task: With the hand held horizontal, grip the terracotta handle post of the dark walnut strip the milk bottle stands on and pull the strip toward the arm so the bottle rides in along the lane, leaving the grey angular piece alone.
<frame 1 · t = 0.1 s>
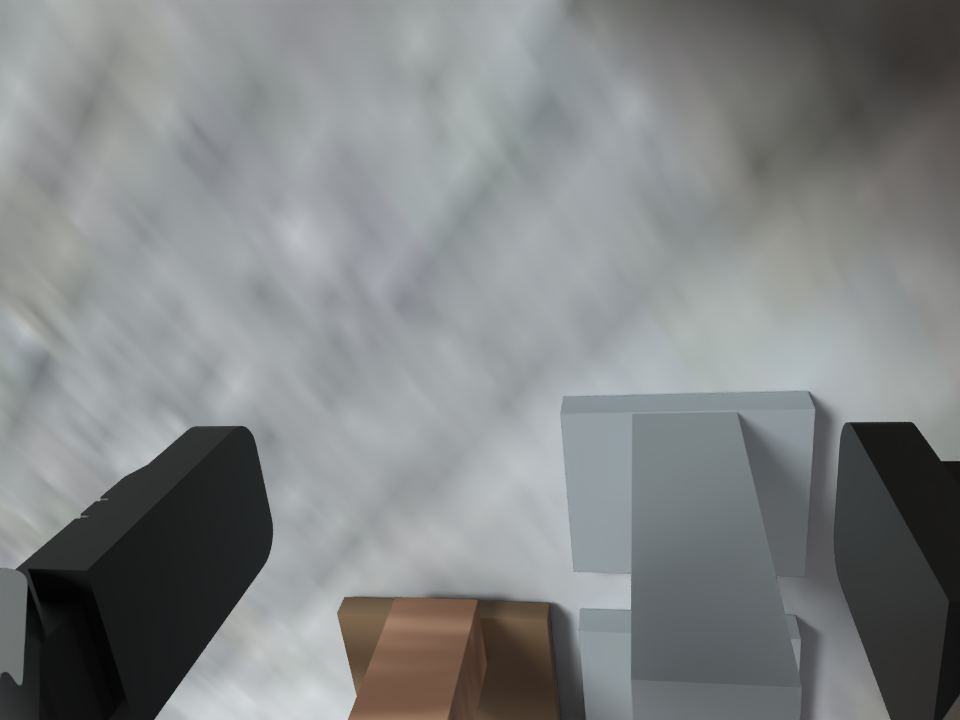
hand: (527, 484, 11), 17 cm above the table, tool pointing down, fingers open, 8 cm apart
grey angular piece: (684, 592, 33), on the table
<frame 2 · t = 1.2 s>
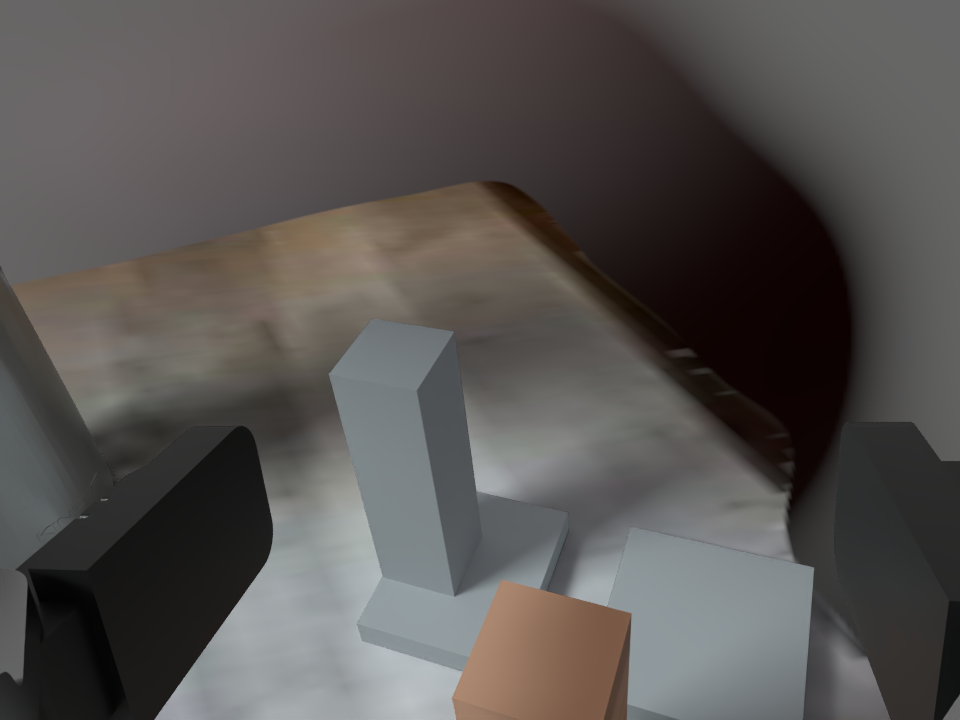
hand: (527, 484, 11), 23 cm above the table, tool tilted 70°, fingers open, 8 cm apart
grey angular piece: (586, 613, 36), on the table
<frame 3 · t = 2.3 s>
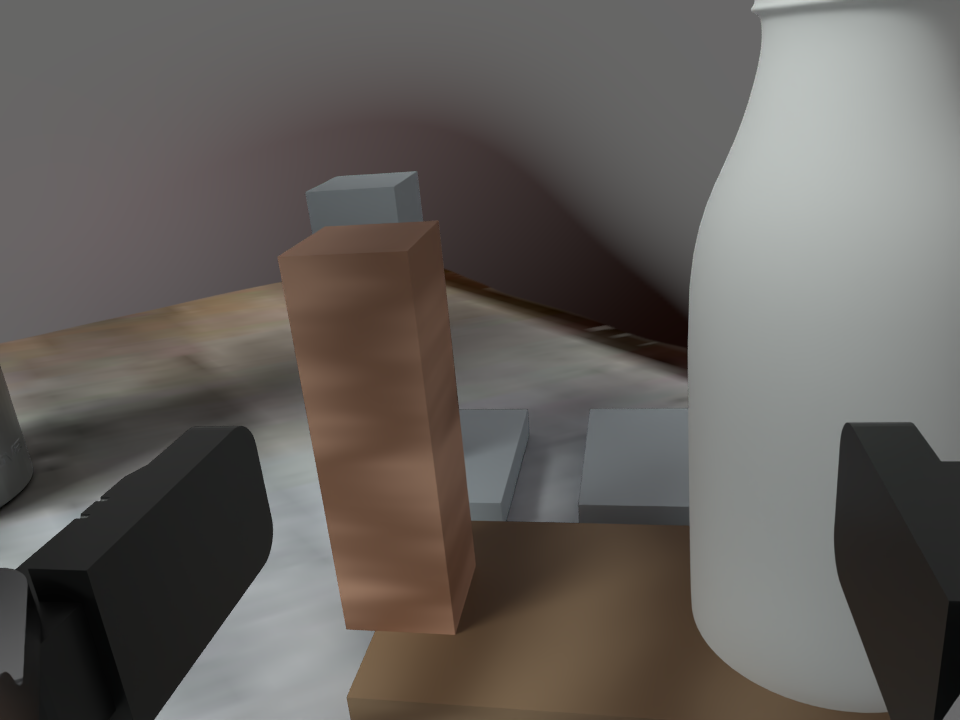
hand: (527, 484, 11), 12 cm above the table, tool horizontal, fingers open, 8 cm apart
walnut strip: (666, 448, 23), point 7 cm above the table, slide at 5.9 cm, touching milk bottle
milk bottle: (822, 646, 25), resting on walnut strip
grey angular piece: (563, 477, 35), on the table
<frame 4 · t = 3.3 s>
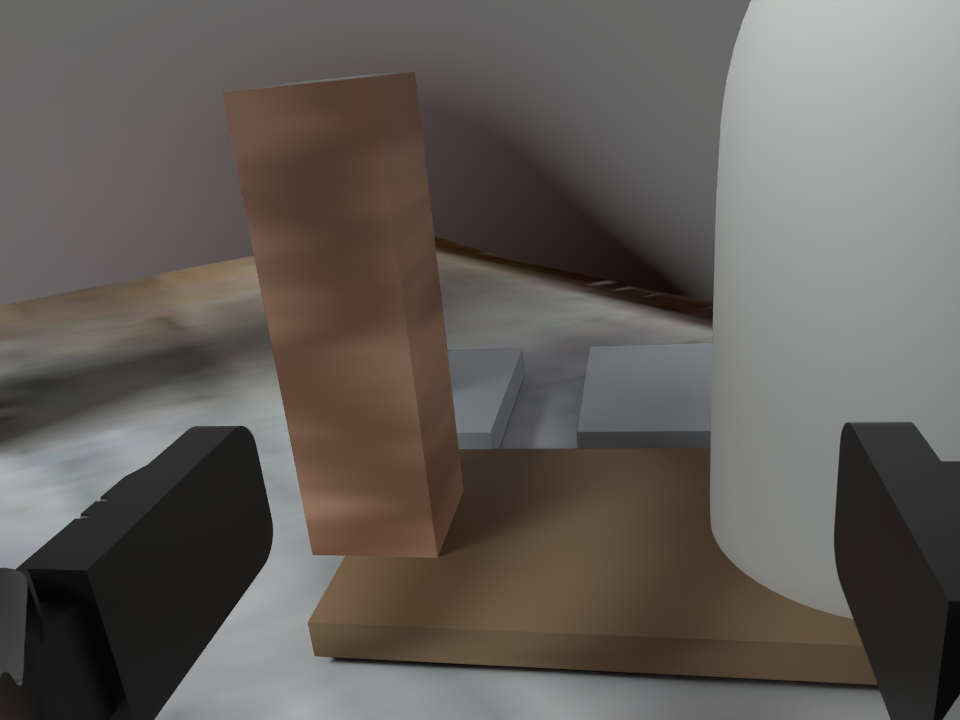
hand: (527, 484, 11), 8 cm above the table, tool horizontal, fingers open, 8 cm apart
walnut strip: (681, 330, 20), point 7 cm above the table, slide at 5.6 cm, touching milk bottle
milk bottle: (862, 568, 21), resting on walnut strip
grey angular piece: (560, 414, 32), on the table
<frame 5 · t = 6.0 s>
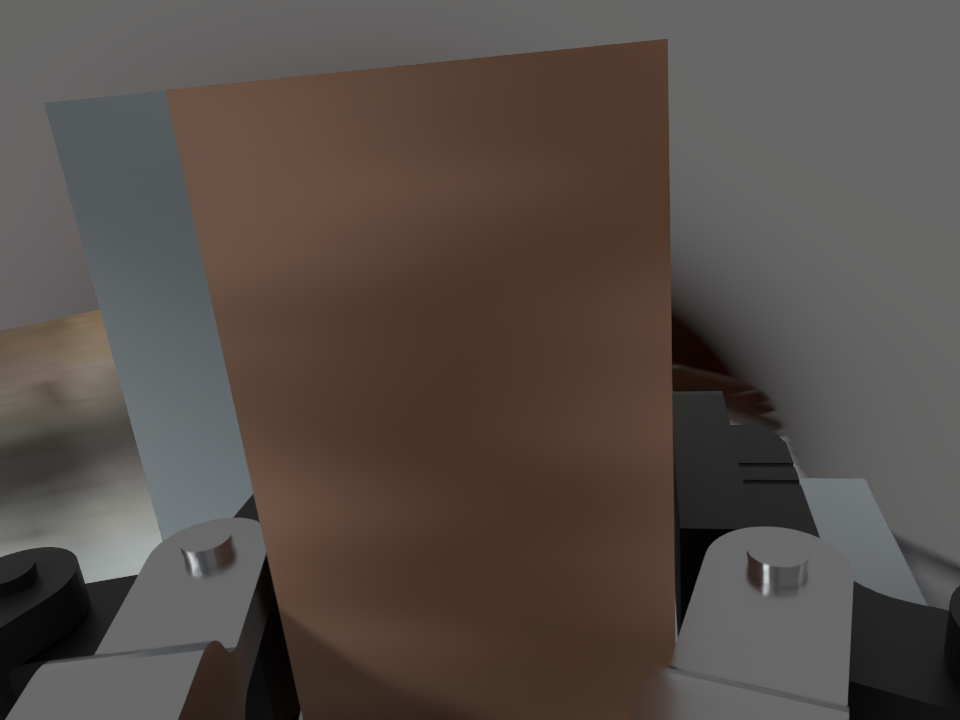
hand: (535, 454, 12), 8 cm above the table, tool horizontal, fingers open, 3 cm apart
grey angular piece: (529, 599, 21), on the table
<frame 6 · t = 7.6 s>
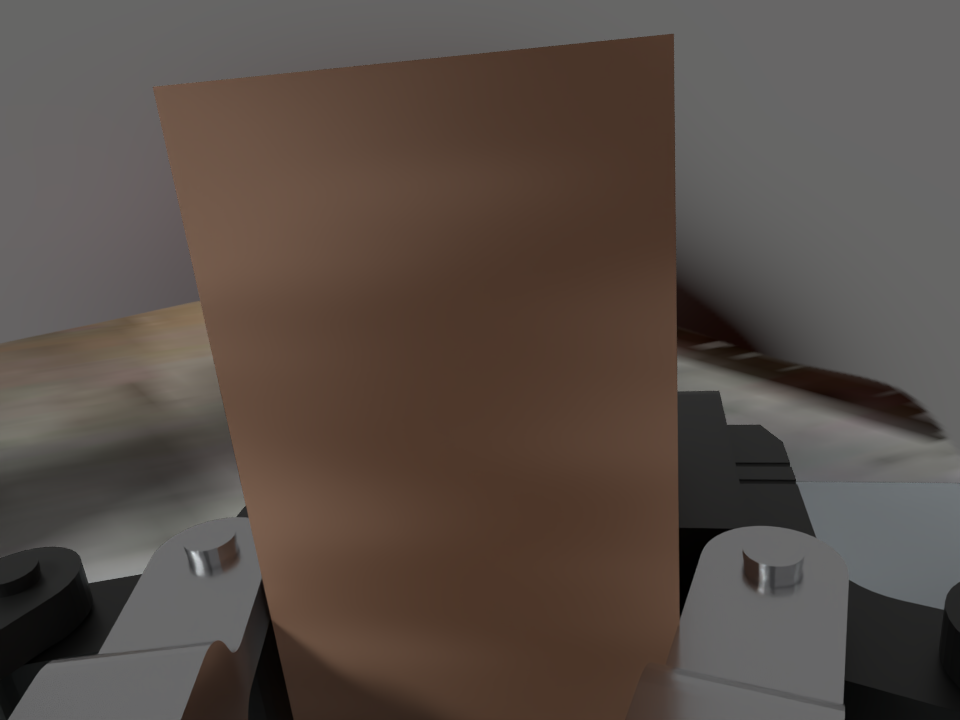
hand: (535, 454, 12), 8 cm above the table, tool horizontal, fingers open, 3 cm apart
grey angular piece: (736, 613, 20), on the table
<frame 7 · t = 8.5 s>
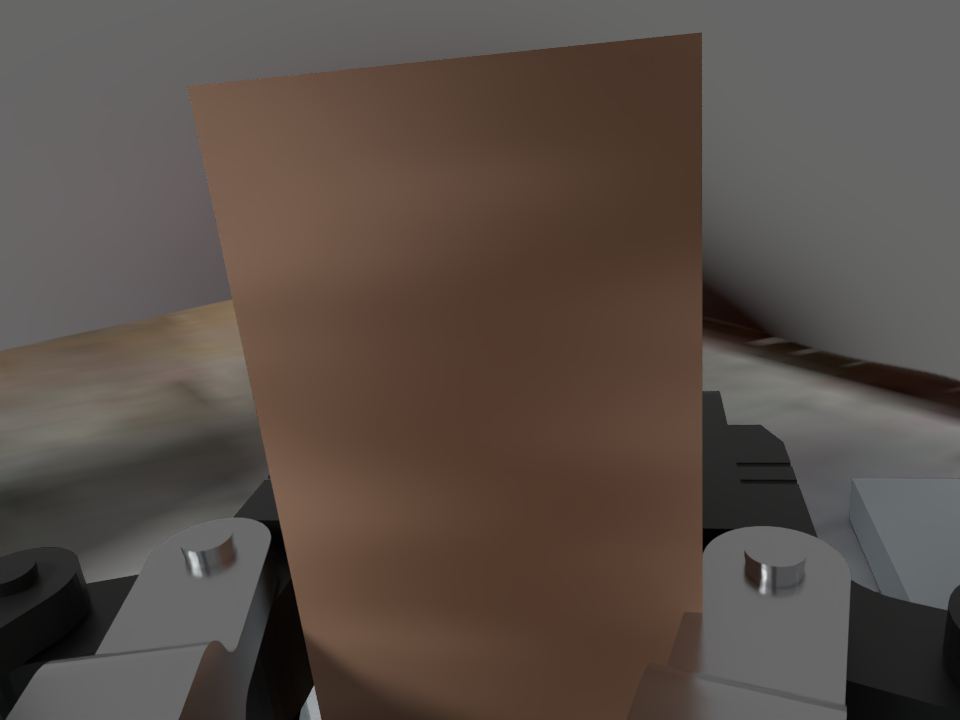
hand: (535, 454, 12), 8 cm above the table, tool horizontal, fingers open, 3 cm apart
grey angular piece: (845, 612, 19), on the table
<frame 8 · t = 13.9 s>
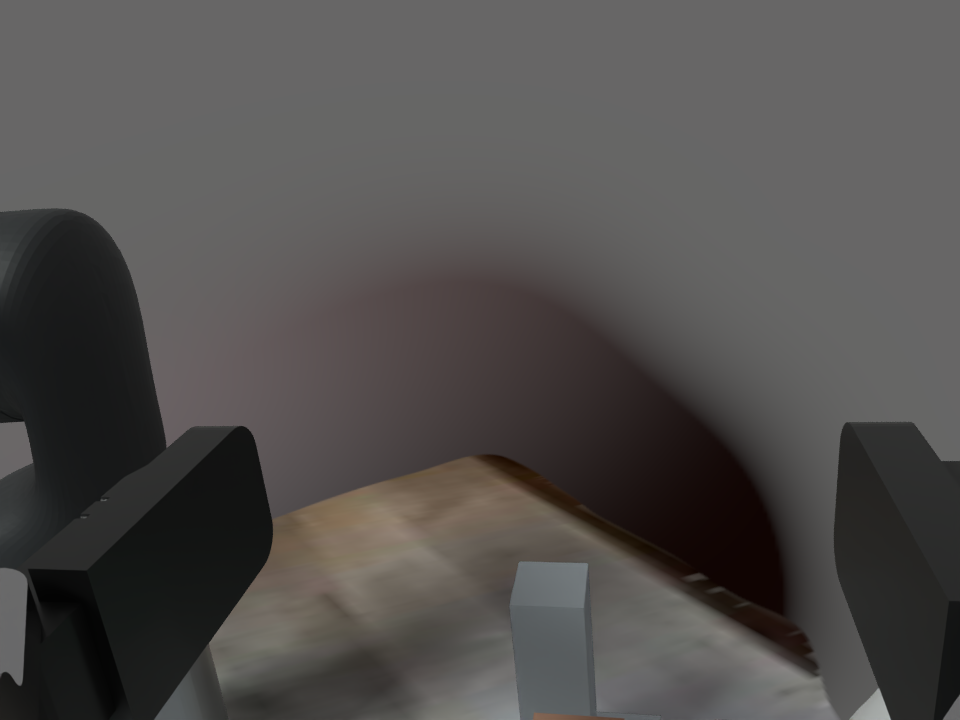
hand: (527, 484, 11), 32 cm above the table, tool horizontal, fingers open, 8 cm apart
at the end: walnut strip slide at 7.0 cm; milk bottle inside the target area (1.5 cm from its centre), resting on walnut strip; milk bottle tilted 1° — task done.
